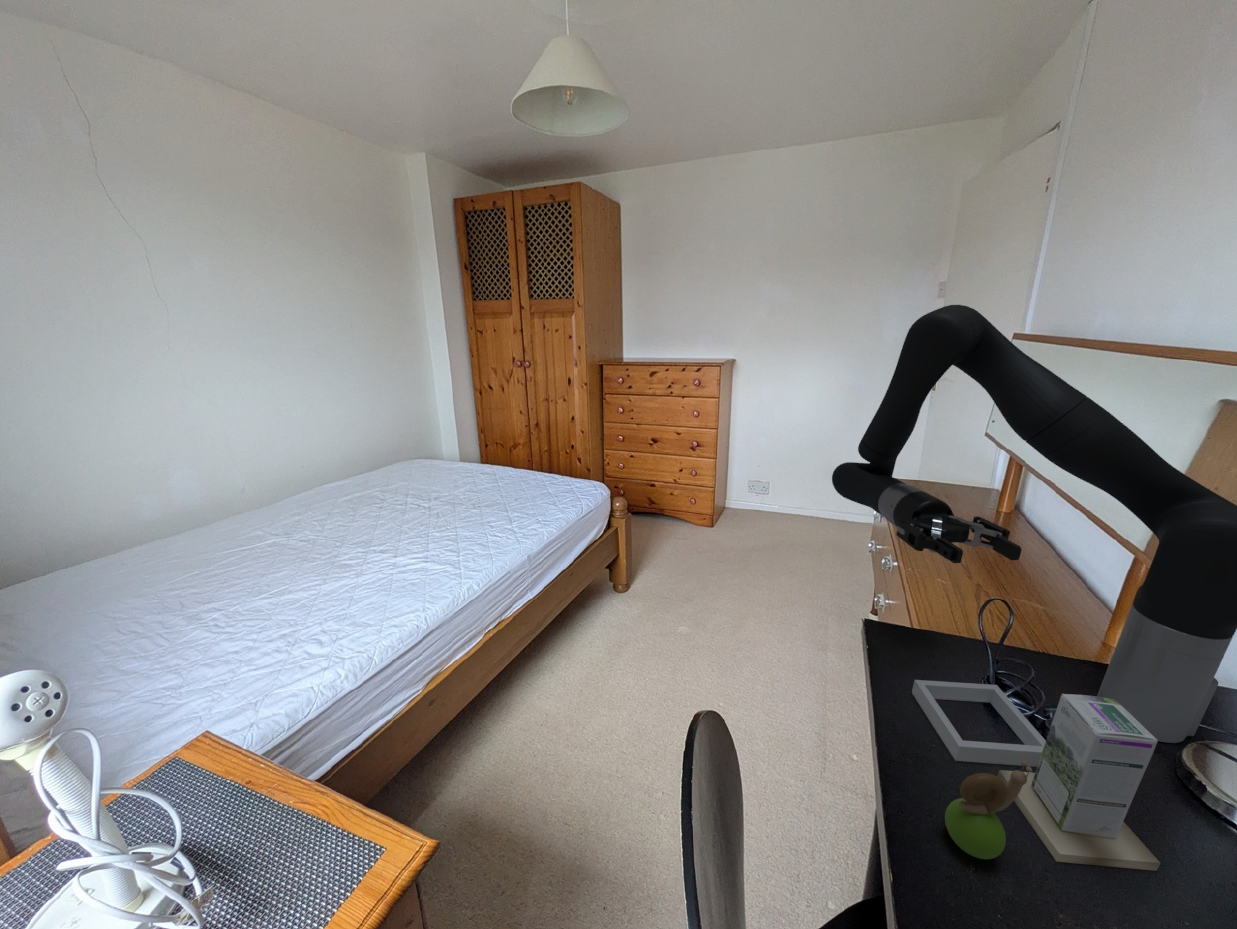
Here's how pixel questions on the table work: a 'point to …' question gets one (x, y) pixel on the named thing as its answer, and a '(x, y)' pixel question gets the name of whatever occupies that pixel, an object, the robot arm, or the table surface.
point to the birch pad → (1080, 837)
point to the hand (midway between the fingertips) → (989, 556)
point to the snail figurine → (982, 812)
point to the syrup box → (1092, 765)
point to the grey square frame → (972, 749)
